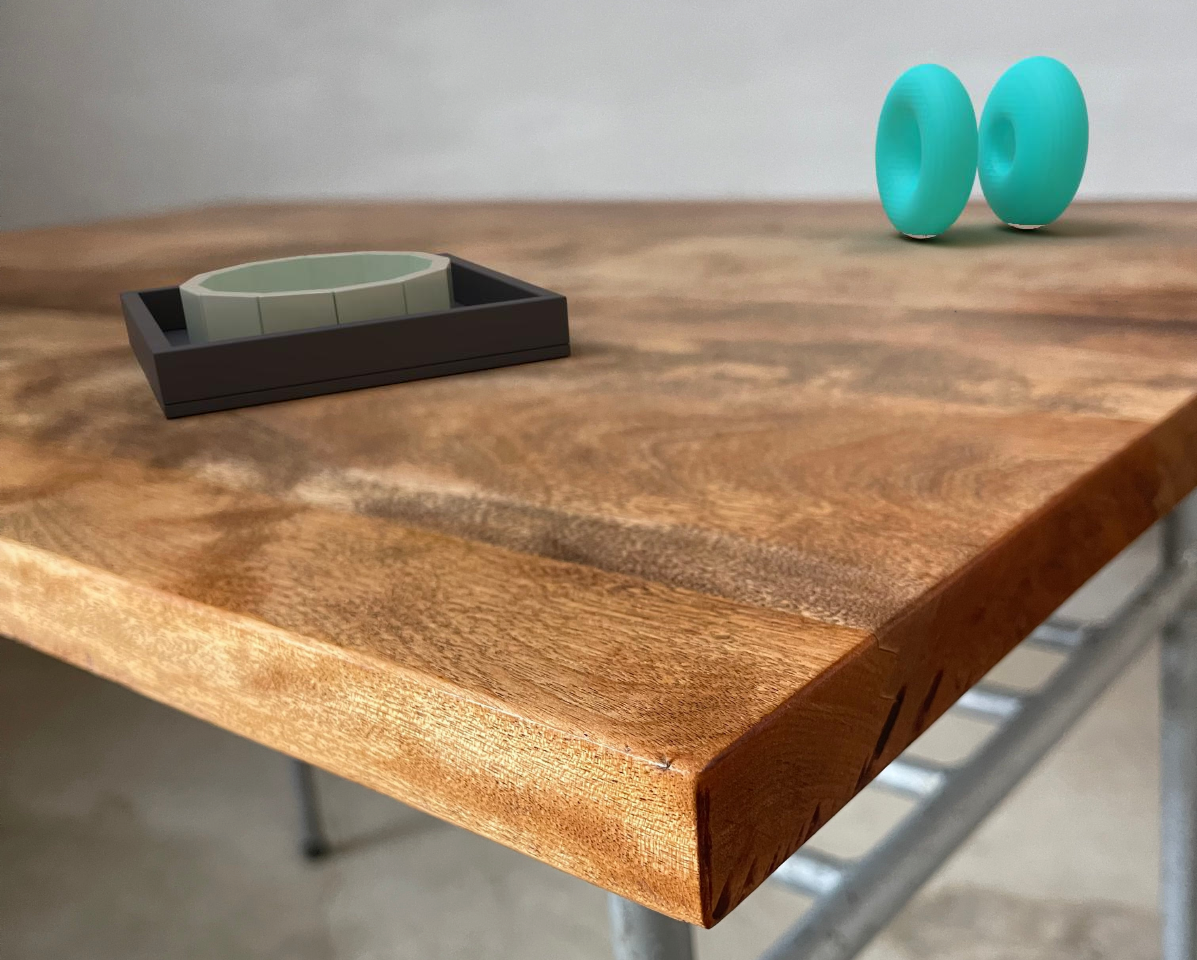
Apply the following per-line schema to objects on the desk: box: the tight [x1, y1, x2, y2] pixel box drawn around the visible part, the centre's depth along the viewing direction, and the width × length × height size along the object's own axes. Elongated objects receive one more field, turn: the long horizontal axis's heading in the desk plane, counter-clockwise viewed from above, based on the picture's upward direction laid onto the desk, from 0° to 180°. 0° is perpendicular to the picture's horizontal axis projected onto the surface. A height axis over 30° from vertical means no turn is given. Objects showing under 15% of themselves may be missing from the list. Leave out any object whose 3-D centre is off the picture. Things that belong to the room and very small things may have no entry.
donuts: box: [874, 55, 1090, 236], centre depth 75 cm, size 10×10×10 cm
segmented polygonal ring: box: [179, 250, 455, 344], centre depth 56 cm, size 12×12×3 cm
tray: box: [118, 252, 572, 419], centre depth 56 cm, size 17×17×2 cm
